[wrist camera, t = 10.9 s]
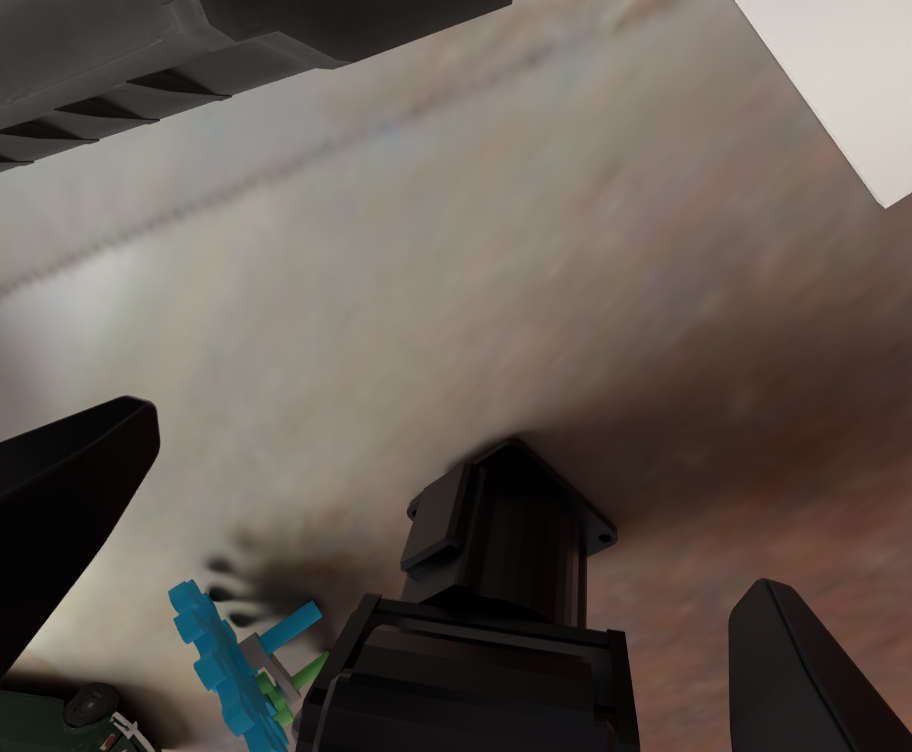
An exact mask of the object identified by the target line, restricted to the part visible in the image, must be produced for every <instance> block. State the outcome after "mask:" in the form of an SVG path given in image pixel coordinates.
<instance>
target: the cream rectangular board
mask: <svg viewBox="0 0 912 752" xmlns="http://www.w3.org/2000/svg"><path fill="white" fill-rule="evenodd" d="M735 2H736V3H737V4H738V6H739V7H740V9H741V10H742V11H743V13H744V14H745V16H746V17H747V19H748V20H749V21H750V23H751V24H752V26H753V27H754V28H755V30H756V31H757V33H758V34H759V35H760V37H761V38H762V40H763V41H764V42H765V44H766V45H767V47H768V48H769V50H770V51H771V52H772V54H773V55H774V57H775V58H776V59H777V61H778V62H779V64H780V65H781V66H782V68H783V69H784V71H785V72H786V74H787V75H788V76H789V78H790V79H791V81H792V82H793V83H794V85H795V86H796V88H797V89H798V90H799V92H800V93H801V95H802V96H803V97H804V99H805V100H806V102H807V103H808V105H809V106H810V107H811V109H812V110H813V112H814V113H815V114H816V116H817V117H818V119H819V120H820V121H821V123H822V124H823V126H824V127H825V129H826V130H827V131H828V133H829V134H830V136H831V137H832V138H833V140H834V141H835V143H836V144H837V145H838V147H839V148H840V150H841V151H842V152H843V154H844V155H845V157H846V158H847V160H848V161H849V162H850V164H851V165H852V167H853V168H854V169H855V171H856V172H857V174H858V175H859V176H860V178H861V179H862V181H863V182H864V184H865V185H866V186H867V188H868V189H869V191H870V192H871V193H872V195H873V196H874V198H875V199H876V200H877V202H878V203H880V204H881V205H882V206H883V207H885V208H888V207H889V206H891V205H892V204H894V203H896V202H897V201H899V200H900V199H902V198H903V197H905V196H906V195H908V194H910V193H911V192H912V0H735Z"/></svg>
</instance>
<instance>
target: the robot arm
mask: <svg viewBox="0 0 912 752" xmlns="http://www.w3.org/2000/svg"><path fill="white" fill-rule="evenodd" d="M159 449H160V433H159V424H158V415H157V409H156V406H155V405H154V403H152V402H151V401H148V400H144V399H141V398H137V397H134V396H129V395H126V396H121V397H118V398H115V399H113V400H110V401H107V402H105V403H102V404H100V405H97V406H94V407H92V408H89V409H86V410H84V411H81V412H79V413H76V414H73V415H71V416H68V417H65V418H63V419H60V420H57V421H55V422H52V423H50V424H47V425H44V426H42V427H39V428H36V429H34V430H31V431H28V432H26V433H23V434H21V435H18V436H15V437H13V438H10V439H7V440H5V441H2V442H0V681H1V679H2V678H3V677H4V675H5V674H6V673H7V671H8V670H9V669H10V668H11V666H12V665H13V664H14V662H15V661H16V660H17V658H18V657H19V656H20V654H21V653H22V652H23V650H24V649H25V648H26V647H27V645H28V644H29V643H30V641H31V640H32V639H33V637H34V636H35V635H36V633H37V632H38V631H39V629H40V628H41V627H42V626H43V624H44V623H45V622H46V620H47V619H48V618H49V616H50V615H51V614H52V612H53V611H54V610H55V608H56V607H57V606H58V605H59V603H60V602H61V601H62V599H63V598H64V597H65V595H66V594H67V593H68V591H69V590H70V589H71V587H72V586H73V585H74V584H75V582H76V581H77V580H78V578H79V577H80V576H81V574H82V573H83V572H84V570H85V569H86V568H87V566H88V565H89V564H90V563H91V561H92V560H93V559H94V557H95V556H96V554H97V553H98V552H99V550H100V549H101V547H102V546H103V545H104V543H105V542H106V540H107V538H108V537H109V535H110V534H111V532H112V531H113V529H114V527H115V526H116V524H117V522H118V521H119V519H120V517H121V516H122V514H123V512H124V511H125V509H126V507H127V506H128V504H129V503H130V501H131V499H132V498H133V496H134V494H135V493H136V491H137V489H138V488H139V486H140V484H141V483H142V481H143V479H144V478H145V476H146V474H147V473H148V471H149V469H150V468H151V466H152V464H153V463H154V461H155V459H156V458H157V455H158V453H159ZM508 450H515V451H517V453H511V452H509V451H508ZM407 515H408V517H409V518H410V519H411V520H412V521H413V525H412V528H411V531H410V534H409V537H408V540H407V543H406V546H405V549H404V552H403V556H402V559H401V562H400V563H401V570H402V571H403V572H404V573H405V574H407V578H406V581H405V585H404V588H403V591H402V595H401V598H400V600H395V599H388V598H382V595H380V594H373V593H365V595H364V597H363V599H362V600H361V602H360V604H359V606H358V607H357V609H356V611H354V612H353V613H352V615H351V616H350V618H349V620H348V622H347V623H346V625H345V627H344V629H343V631H342V632H341V634H340V636H339V638H338V639H337V641H336V643H335V645H334V647H333V648H332V650H331V652H330V654H329V655H328V657H327V659H326V661H325V662H324V664H323V666H322V668H321V670H320V671H319V673H318V675H317V677H316V678H315V680H314V682H313V684H312V686H311V687H310V689H309V691H308V693H307V694H306V697H305V699H304V702H303V706H302V708H301V709H300V711H299V712H298V713H297V714H296V716H295V718H294V721H293V725H292V736H293V738H294V741H295V743H296V751H295V752H640V741H639V732H638V724H637V717H636V710H635V702H634V695H633V688H632V680H631V673H630V666H629V659H628V651H627V644H626V637H625V632H624V631H617V630H611V629H607V632H605V631H598V630H592V629H586V613H587V557H589V556H591V555H593V554H595V553H597V552H599V551H601V550H604V549H606V548H608V547H610V546H612V545H614V544H615V543H616V542H617V540H618V538H617V528H616V527H615V526H614V525H613V524H612V523H611V522H610V521H609V520H608V519H607V518H606V517H605V516H603V515H602V514H601V513H600V512H599V511H598V510H597V509H596V508H595V507H594V506H592V505H591V504H590V503H589V502H588V501H587V500H586V499H585V498H584V497H583V496H581V495H580V494H579V493H578V492H577V491H576V490H575V489H574V488H573V487H572V486H570V485H569V484H568V483H567V482H566V481H565V480H564V479H563V478H562V477H561V476H560V475H558V474H557V473H556V472H555V471H554V470H553V469H552V468H551V467H550V466H549V465H547V464H546V463H545V462H544V461H543V460H542V459H541V458H540V457H539V456H538V455H536V454H535V453H534V452H533V451H532V450H531V449H530V448H529V447H528V446H527V445H525V444H524V443H523V442H522V441H520V440H519V439H515V438H508V439H506V440H504V441H502V442H501V443H499V444H497V445H496V446H494V447H493V448H491V449H490V450H488V451H487V452H485V453H484V454H482V455H481V456H479V457H478V458H476V459H475V460H473V461H472V462H471V461H468V462H463V463H462V464H460V465H459V466H457V467H456V468H454V469H453V470H451V471H450V472H448V473H447V474H445V475H444V476H442V477H441V478H439V479H438V480H436V481H435V482H433V483H432V484H430V485H428V486H427V487H426V488H425V489H424V491H423V494H421V495H420V496H418V497H417V498H415V499H414V500H412V501H411V502H410V503H409V506H408V509H407ZM602 534H608V535H602ZM728 629H729V707H730V733H731V744H732V752H912V734H911V732H910V731H909V730H908V729H907V728H906V726H905V725H904V724H903V723H902V721H901V720H900V719H899V718H898V716H897V715H896V714H895V713H894V712H893V710H892V709H891V708H890V707H889V705H888V704H887V703H886V702H885V700H884V699H883V698H882V697H881V695H880V694H879V693H878V692H877V691H876V689H875V688H874V687H873V686H872V684H871V683H870V682H869V681H868V679H867V678H866V677H865V676H864V674H863V673H862V672H861V671H860V670H859V668H858V667H857V666H856V665H855V663H854V662H853V661H852V660H851V658H850V657H849V656H848V655H847V653H846V652H845V651H844V650H843V649H842V647H841V646H840V645H839V644H838V642H837V641H836V640H835V639H834V637H833V636H832V635H831V634H830V632H829V631H828V630H827V629H826V628H825V626H824V625H823V624H822V623H821V621H820V620H819V619H818V618H817V616H816V615H815V614H814V613H813V611H812V610H811V609H810V608H809V607H808V605H807V604H806V603H805V602H804V600H803V599H802V598H801V597H800V595H799V594H798V593H797V592H796V591H795V590H794V589H793V588H792V587H791V586H789V585H787V584H783V583H780V582H776V581H773V580H769V579H766V578H762V579H759V580H757V581H756V582H755V583H754V584H753V585H752V586H751V588H750V589H749V590H748V591H747V592H746V594H745V595H744V596H743V597H742V599H741V600H740V601H739V602H738V603H737V605H736V606H735V607H734V609H733V610H732V612H731V615H730V618H729V627H728Z"/></svg>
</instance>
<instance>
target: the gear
mask: <svg viewBox="0 0 912 752" xmlns="http://www.w3.org/2000/svg"><path fill="white" fill-rule="evenodd" d="M168 592H169V598H170V601H171V603H172V605H173V607H174V608H175V610H176V611H177V612H178V613H179V614H180V615H178V616H177V617H175V618H174V619H173V620H174V622H175V625H176V627H177V629H178V631H179V633H180V635H181V637H182V639H183V641H184V642H185V643H186V644H189V643H191V642H192V641H193V642H194V644H195V645H196V647H197V649H198V651H199V653H200V657H201V659H200V660H198V661H197V662H195V663H194V669H195V670H196V672H197V674H198V676H199V677H200V679H201V681H202V682H203V684H204V686H205V687H206V689H207V690H208V691H209V690H211V689H212V690H213V691H214V692H215V693H217V692H218V694H219V697H220V700H221V704H222V715H223V718H224V720H225V722H226V724H227V725H228V727H229V728H230V729H231V731H232V732H233V733H234V734H235V735H236V736H237V737H239V736H240V735H242V734H244V737H245V739H246V742H247V744H248V748H249V750H250V752H288V750H287V748H286V746H287V745H289V742H288V739H287V737H286V734H285V732H284V730H283V727H285V726H286V725H287V724H289V723H290V722H291V721H292V720H294V716H293V714H292V712H291V710H290V709H289V707H288V705H289V706H291V705H292V704H294V703H295V702H296V701H297V700H299V699H300V698H301V694H300V692H299V690H298V689H299V688H301V687H302V686H303V685H305V684H306V683H307V682H309V681H310V680H311V679H313V678H314V677H315V676H317V675H318V673H319V671H320V670H321V668H322V666H323V664H324V662H325V661H326V659H327V657H328V655H329V652H328V651H326V652H325V653H324V654H322V655H321V656H320V657H318V658H317V659H316V660H314V661H313V662H312V663H310V664H309V665H307V666H306V667H305V668H303V669H302V670H301V671H299V672H298V673H297V674H295V675H294V676H293V677H291V676H290V675H289V673H288V672H287V671H286V670H285V668H284V667H283V666H282V664H281V663H280V662H279V661H278V659H277V658H276V657H275V656H274V654H273V652H274V651H275V650H277V649H278V648H280V647H281V646H282V645H284V644H285V643H287V642H288V641H289V640H291V639H292V638H294V637H295V636H296V635H298V634H299V633H301V632H302V631H303V630H305V629H306V628H308V627H309V626H310V625H312V624H313V623H315V622H316V621H317V620H319V619H320V618H322V617H323V616H322V615H321V613H320V611H319V610H318V608H317V606H316V605H315V603H314V601H313V600H311V601H310V602H309V603H307V604H306V605H304V606H303V607H301V608H300V609H299V610H297V611H296V612H294V613H293V614H291V615H290V616H289V617H287V618H286V619H284V620H283V621H281V622H280V623H279V624H277V625H276V626H274V627H273V628H271V629H270V630H269V631H267V632H266V633H264V634H263V635H261V636H260V637H259V635H258V634H257V633H256V632H255V633H253V634H252V635H251V636H249V637H248V638H246V639H245V640H243V641H242V642H241V643H239V644H238V643H237V637H236V634H235V632H234V631H233V629H232V628H231V626H230V625H229V623H228V622H227V621H226V620H225V619H224V620H223V621H221V619H220V616H219V614H218V612H217V609H216V607H215V605H214V603H213V601H212V600H211V598H210V597H209V596H208V595H207V594H206V593H204V594H201V592H200V590H199V588H198V586H197V585H196V583H195V582H194V580H193V579H192V580H190V581H189V582H187V583H186V582H185V581H184V582H182V583H181V584H179V585H178V586H176V587H174V588H173V589H171V590H170V591H168ZM262 667H265V668H266V670H267V671H268V672H269V673H270V674H271V676H272V677H273V678H274V679H275V683H276V686H275V687H274V686H273V684H272V682H271V681H270V679H269V677H268V675H267V674H266V673H265V671H263V672H262V673H260V674H259V675H258V672H257V671H258V670H260V669H261V668H262ZM257 675H258V676H257ZM285 702H286V703H287V704H288V705H287V704H286V703H285ZM274 705H275V706H274ZM275 707H276V708H275Z"/></svg>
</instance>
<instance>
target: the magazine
mask: <svg viewBox="0 0 912 752" xmlns="http://www.w3.org/2000/svg"><path fill="white" fill-rule="evenodd" d="M511 4H512V0H0V172H2V171H5V170H8V169H11V168H14V167H17V166H26V165H29V164H32V163H34V161H35V160H38V159H41V158H44V157H47V156H50V155H53V154H56V153H59V152H62V151H65V150H68V149H71V148H74V147H77V146H80V145H83V144H92V143H95V142H98V141H100V140H99V139H101V138H104V137H107V136H110V135H113V134H117V133H120V132H123V131H126V130H129V129H132V128H135V127H138V126H141V125H144V124H152V123H155V122H158V121H160V119H162V118H165V117H168V116H171V115H174V114H177V113H180V112H183V111H186V110H189V109H192V108H195V107H198V106H201V105H204V104H207V103H210V102H213V101H222V100H225V99H228V98H231V97H232V96H231V95H234V94H238V93H241V92H244V91H247V90H250V89H253V88H256V87H259V86H262V85H265V84H268V83H271V82H275V81H278V80H281V79H284V78H287V77H290V76H293V75H296V74H299V73H302V72H305V71H308V70H311V69H314V68H320V69H332V70H333V69H336V68H339V67H342V66H345V65H348V64H352V63H355V62H357V61H360V60H363V59H366V58H368V57H371V56H374V55H376V54H379V53H382V52H384V51H387V50H390V49H393V48H395V47H398V46H401V45H403V44H406V43H409V42H411V41H414V40H417V39H419V38H422V37H425V36H428V35H430V34H433V33H436V32H438V31H441V30H444V29H446V28H449V27H452V26H455V25H457V24H460V23H463V22H465V21H468V20H471V19H473V18H476V17H479V16H481V15H484V14H487V13H490V12H492V11H495V10H498V9H500V8H503V7H506V6H508V5H511Z"/></svg>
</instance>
